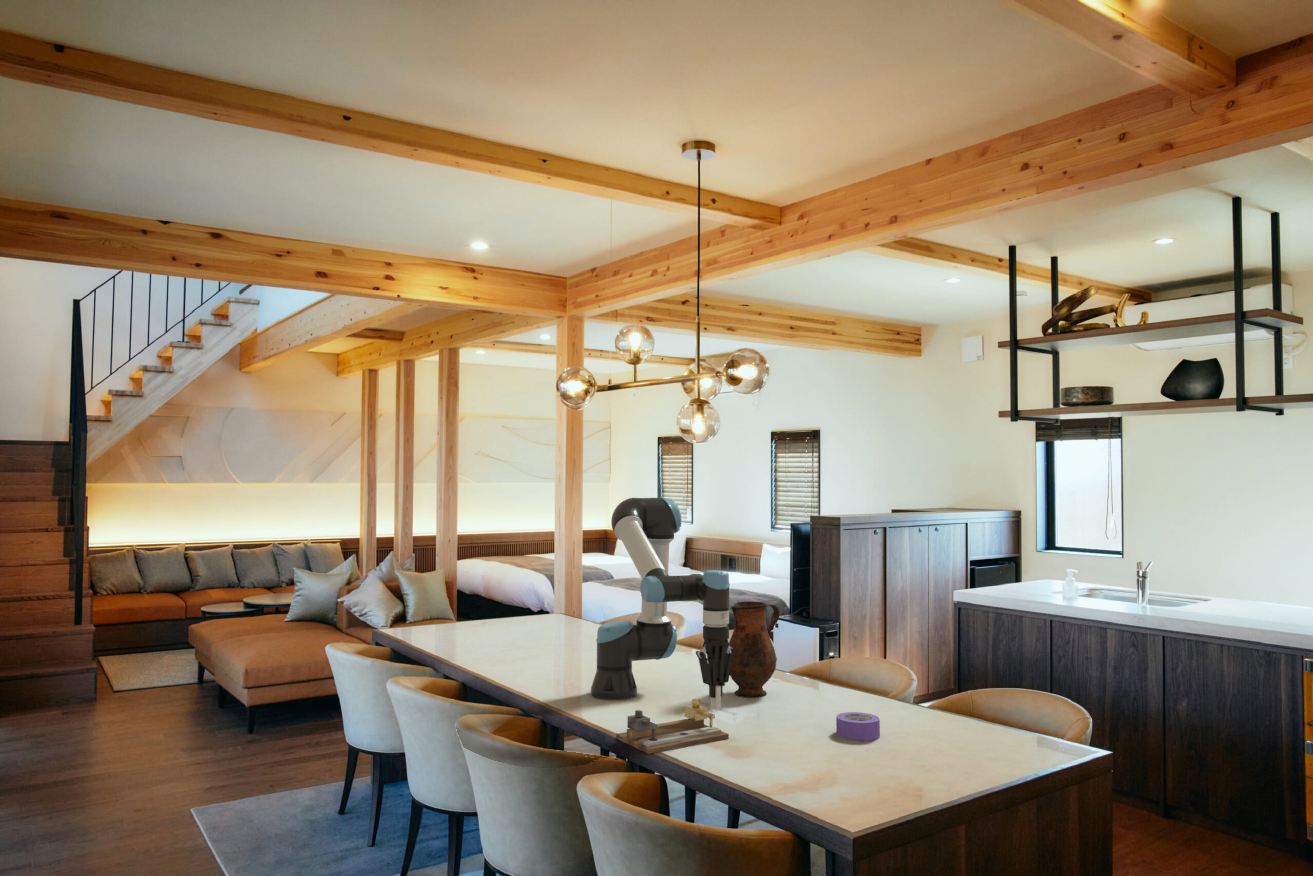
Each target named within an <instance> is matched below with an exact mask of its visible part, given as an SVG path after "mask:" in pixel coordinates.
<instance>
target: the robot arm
mask: <svg viewBox="0 0 1313 876" xmlns="http://www.w3.org/2000/svg"><path fill="white" fill-rule="evenodd" d="M610 522H611V528H612V531H613V533H614V536H615V537H616V538H617V539H618V540H620V541H621V542H622V544H623V546H624V547H625V550H626V551H627V553H628V555H629V557H630V559H631V560H632V561H631V562H632V563H633V564H634V566H635V569H636V570H637V572H638V574H639V576H640V577H641V580H640V583H639V586H640V587H639V591H640V593H641V594H640V595H641V607H640V609H641V612H640V614H639V615H638V616H637V617H636V622H635V624H633V622H632V621H630V620H615V621H614V620H613V621H609V622H606V623H603V624H601V625H600V626H599V627H598V629H597V634H596V641H595V642H596V672H595V674H594V677H593V681H592V683H591V687H590V695H591V696H592V697H593V698H596V699H600V700H610V701H611V700H612V701H613V700H615V701H616V700H617V701H618V700H626V699H631V698H634V697H637V695H638V687H637V684H636V680H635V677H634V673H633V662H634V661H635V662H636V661H637V662H638V661H646V660H647V661H648V660H649V661H650V660H657V661H658V660H662V659H668V658H669V657H671V656H672V655H673V654H674V652H675V650H676V647H677V642H678V634H677V628H676V626H675V624H674V623H672V619H671V618H670V616H669V615H668V613H667V612H668V603H669V602H670V603H671V602H692V601H701V602H702V624H703V626H702V638H703V644H702V648H701V649H699V650H696V651H695V655H696V657H697V659H698V663H699V668H700V672H701V678H702V682H703V684H704V685H708V696H709V698H710V709H713V710H715V711H719V710H722V708H721V707H722V697H723V694H724V692H723V691H724V690H723V687H725V686H726V683H728V682H729V681H730V670H731V665H732V659H733V655H734V653H735V651H736V649H735V648H732V647H730V646H729V640H730V639H729V638H730V627H729V624H730V585H731V584H730V574H729V572H728V571H726V570H721V569H719V570H718V569H717V570H715V569H712V570H711V569H710V570H705V571H704V572H703V574H701V573H691V574H686V575H685V574H684V575H669V561H670V544H671V542H673V541H674V539H675V534H676V533H678V532H679V531H680V530H681V527H682V514H681V509H680V507H679V505H678V503H677V501H675V500H674V499H673V498H667V497H666V498H665V497H629V498H627V499H624V500H622V501H621V502H620V503H618V505H616V507H615V509H614V510H613V513H612V515H611V521H610Z"/></svg>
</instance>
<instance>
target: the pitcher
mask: <svg viewBox="0 0 1313 876" xmlns="http://www.w3.org/2000/svg"><path fill="white" fill-rule="evenodd" d="M768 607H770V608H772V610H773V613H774V614H773V618H772V620H771V622H770V624H769V625H768V626H767V620H766V619H767V618H766V617H767V614H766V613H767V608H768ZM730 609H731V612H732V614H733V618H734V628H733V631H732V633H731V637H730V639H729V640H728V642H729V646H730V647H732V648H735V649H736V651H735V653H734V655H733V659H732V665H731V670H730V675H729V677H730V678H731V680H732V681H733V682H734V684H735V685H737V687H738V688H737V690H735V691H734V695H735V696H736V697H739V698H740V697H741V698H748V699H749V698H754V699H755V698H762V697H765V696H766V695H767V694H768V693H767V691H766V690H764V688H763V686H765V684H767V682H768V681H770V679H771V677H772V676H773V674H774V673H775V671H776V669H777V661H778V658H777V655H776V654H777V653H776V650H775V647H774V644H773V642H772V640H771V638H770V634H771V632H772V630H773V628H774V627H775V625H777V623H778V622H779V619H780V610H779V608H778V606H776V605H774V604H769V603H766V602H761V601H737V602H735V603H734V605H732V606H731V607H730Z"/></svg>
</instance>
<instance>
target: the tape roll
mask: <svg viewBox="0 0 1313 876" xmlns="http://www.w3.org/2000/svg"><path fill="white" fill-rule="evenodd" d="M835 719H836V720H835V721H836V725H835V726H836V728H835V729H836V735H837V737H840V738H842V739H845V740H850V741H857V742H858V741H859V742H869V741H870V742H871V741H875V740H877V739H879V738H881V729H880V728H881V727H880V726H881V724H880V723H881V722H880V721H881V720H880V719H881V718H880V717H879V716H878V715H876V714H872V713H868V712H862V711H861V712H858V711H849V712H847V711H846V712H841V713H838V714H836V716H835Z"/></svg>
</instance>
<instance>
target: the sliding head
mask: <svg viewBox="0 0 1313 876" xmlns="http://www.w3.org/2000/svg"><path fill="white" fill-rule="evenodd" d="M691 701H692V702H691V703H692V704H688V705H684V717H685V718H686V719H689V718H690V719H692V720H695V721H697V720H702V719H704V720H707V718H708V719H709V720H708V721H709V723H708V724H709V725H708V726H709V727H710V728H712V726H713V719H716V714H714V713H711V712H709V711H708V707H706V706H704V705H700V699H699V698H692V699H691Z"/></svg>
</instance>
